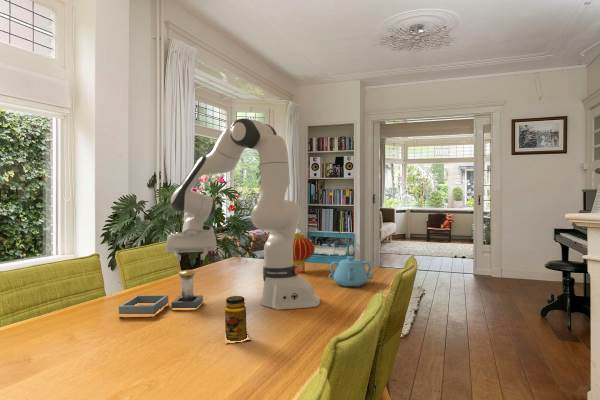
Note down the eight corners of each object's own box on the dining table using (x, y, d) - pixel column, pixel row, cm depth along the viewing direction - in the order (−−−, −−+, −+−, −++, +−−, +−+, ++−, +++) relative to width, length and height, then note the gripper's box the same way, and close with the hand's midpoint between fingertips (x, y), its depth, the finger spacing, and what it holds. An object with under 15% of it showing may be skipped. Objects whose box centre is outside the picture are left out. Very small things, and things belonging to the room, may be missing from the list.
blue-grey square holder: (203, 303, 149) (202, 295, 148) (196, 310, 140) (196, 302, 139) (179, 303, 149) (179, 295, 149) (171, 310, 140) (171, 302, 140)
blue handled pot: (371, 280, 181) (371, 253, 180) (375, 291, 161) (375, 261, 161) (329, 280, 183) (328, 253, 182) (328, 291, 163) (327, 261, 162)
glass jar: (198, 304, 147) (197, 269, 147) (193, 309, 141) (192, 273, 141) (182, 304, 147) (181, 270, 147) (177, 309, 141) (176, 273, 141)
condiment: (225, 345, 107) (224, 302, 107) (222, 334, 116) (221, 294, 115) (251, 341, 110) (250, 299, 109) (246, 331, 118) (245, 292, 117)
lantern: (278, 270, 208) (277, 214, 207) (309, 267, 213) (308, 213, 212) (287, 276, 192) (285, 216, 191) (319, 274, 197) (318, 215, 196)
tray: (168, 305, 146) (168, 295, 146) (153, 317, 132) (153, 306, 132) (137, 305, 147) (136, 295, 146) (119, 317, 133) (118, 306, 132)
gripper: (166, 228, 160) (162, 255, 151) (216, 226, 164) (215, 253, 154) (168, 237, 165) (164, 264, 156) (217, 236, 168) (216, 262, 159)
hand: (190, 259), depth 155 cm, fingers open, 8 cm apart
